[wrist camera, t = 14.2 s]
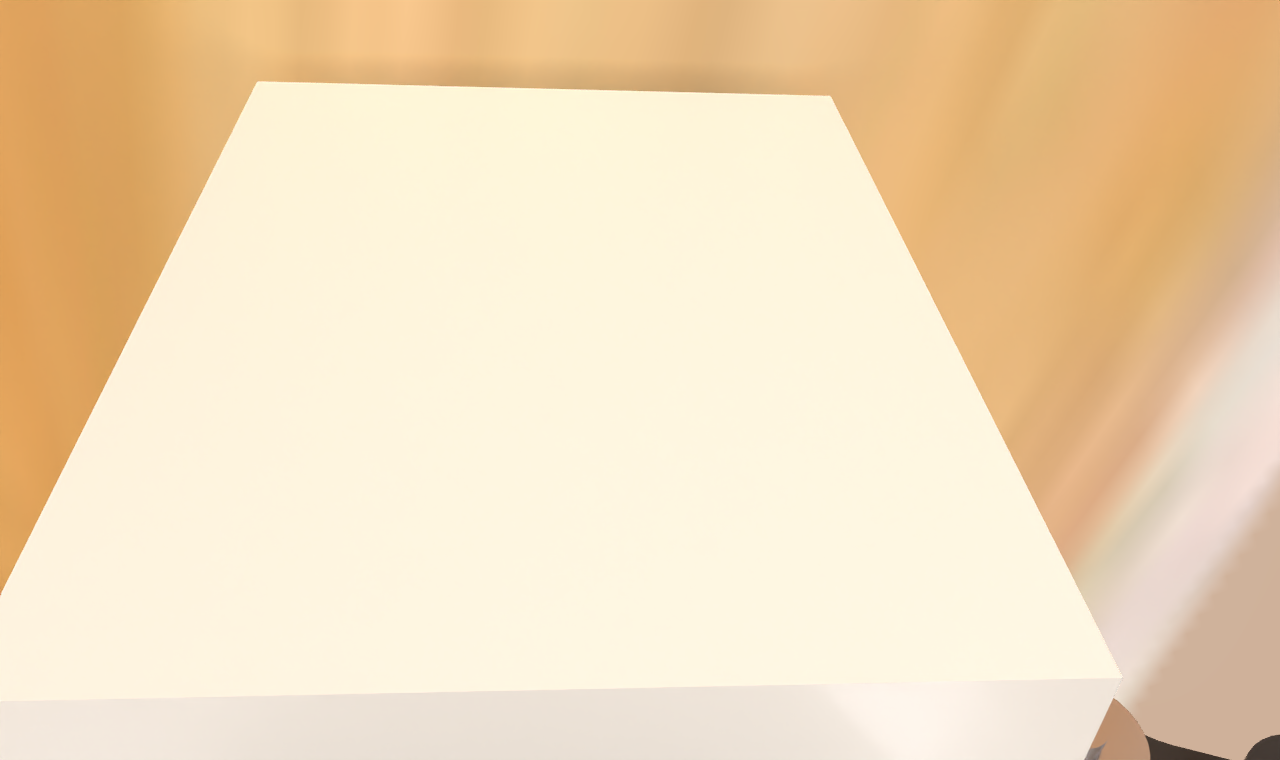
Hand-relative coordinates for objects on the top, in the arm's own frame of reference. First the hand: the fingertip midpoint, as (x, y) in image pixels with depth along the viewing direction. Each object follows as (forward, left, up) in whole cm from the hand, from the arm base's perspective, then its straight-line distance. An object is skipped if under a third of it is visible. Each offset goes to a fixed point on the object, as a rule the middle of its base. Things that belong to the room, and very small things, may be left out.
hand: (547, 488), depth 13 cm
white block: (0, 0, -3) cm, 3 cm away
